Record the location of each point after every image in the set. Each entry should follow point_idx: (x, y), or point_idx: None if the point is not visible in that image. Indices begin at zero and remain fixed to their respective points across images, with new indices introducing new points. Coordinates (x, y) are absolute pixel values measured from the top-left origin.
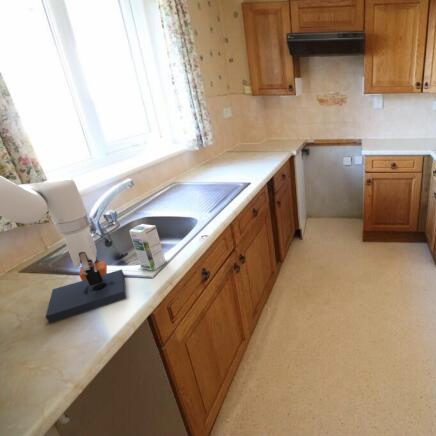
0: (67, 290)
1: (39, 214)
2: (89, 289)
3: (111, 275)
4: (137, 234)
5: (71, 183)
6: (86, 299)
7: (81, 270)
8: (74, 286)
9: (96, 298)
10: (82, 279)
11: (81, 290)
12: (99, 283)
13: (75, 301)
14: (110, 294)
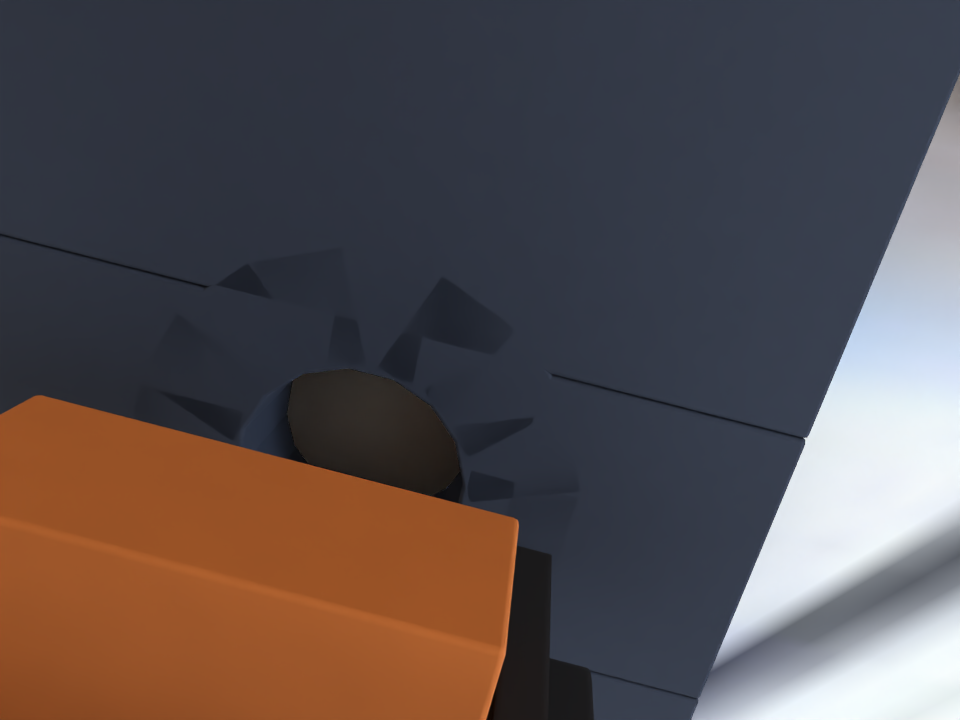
0: (704, 19)
1: None
2: (386, 342)
3: None
4: None
5: None
6: (81, 232)
7: (178, 609)
8: (751, 162)
9: (6, 354)
10: (11, 429)
11: (463, 232)
12: (465, 503)
13: (143, 72)
14: None
